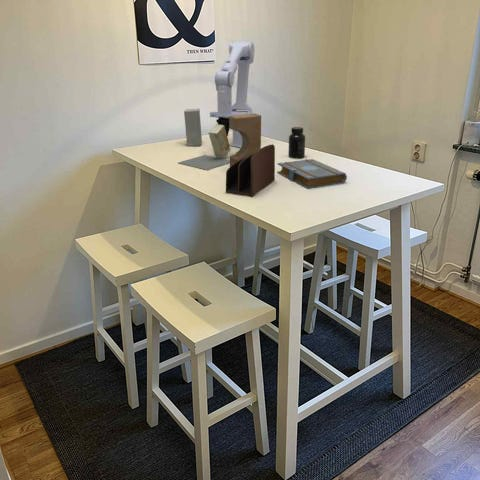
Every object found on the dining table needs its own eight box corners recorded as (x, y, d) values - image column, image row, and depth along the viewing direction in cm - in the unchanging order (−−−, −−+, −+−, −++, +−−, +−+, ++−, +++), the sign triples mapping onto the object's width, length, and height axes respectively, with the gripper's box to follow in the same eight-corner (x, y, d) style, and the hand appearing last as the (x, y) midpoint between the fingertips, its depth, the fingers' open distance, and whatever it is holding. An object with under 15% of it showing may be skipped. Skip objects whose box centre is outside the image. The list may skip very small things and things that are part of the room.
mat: (204, 155, 204) (204, 154, 204) (233, 161, 195) (233, 161, 195) (177, 163, 193) (177, 162, 193) (206, 170, 184) (206, 169, 183)
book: (346, 184, 170) (347, 170, 168) (306, 190, 163) (307, 176, 161) (313, 169, 187) (314, 156, 185) (276, 174, 181) (276, 161, 179)
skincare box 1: (200, 146, 219) (199, 110, 212) (185, 146, 219) (183, 110, 213) (202, 142, 227) (201, 107, 220) (187, 142, 227) (185, 107, 220)
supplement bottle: (304, 154, 205) (305, 126, 200) (304, 158, 199) (306, 129, 194) (288, 154, 206) (289, 126, 201) (288, 158, 200) (289, 129, 195)
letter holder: (274, 180, 172) (276, 141, 166) (252, 197, 156) (253, 154, 150) (249, 177, 176) (249, 139, 170) (225, 193, 160) (224, 151, 154)
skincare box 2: (224, 158, 198) (216, 134, 189) (215, 157, 200) (207, 132, 191) (231, 149, 201) (224, 124, 193) (222, 148, 203) (215, 123, 195)
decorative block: (235, 171, 182) (235, 117, 174) (229, 167, 187) (228, 115, 179) (261, 167, 187) (262, 115, 179) (254, 164, 192) (254, 113, 183)
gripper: (204, 102, 195) (205, 135, 200) (232, 105, 186) (232, 140, 192) (216, 100, 200) (216, 133, 205) (243, 103, 191) (243, 137, 197)
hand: (225, 136), depth 199 cm, fingers closed
